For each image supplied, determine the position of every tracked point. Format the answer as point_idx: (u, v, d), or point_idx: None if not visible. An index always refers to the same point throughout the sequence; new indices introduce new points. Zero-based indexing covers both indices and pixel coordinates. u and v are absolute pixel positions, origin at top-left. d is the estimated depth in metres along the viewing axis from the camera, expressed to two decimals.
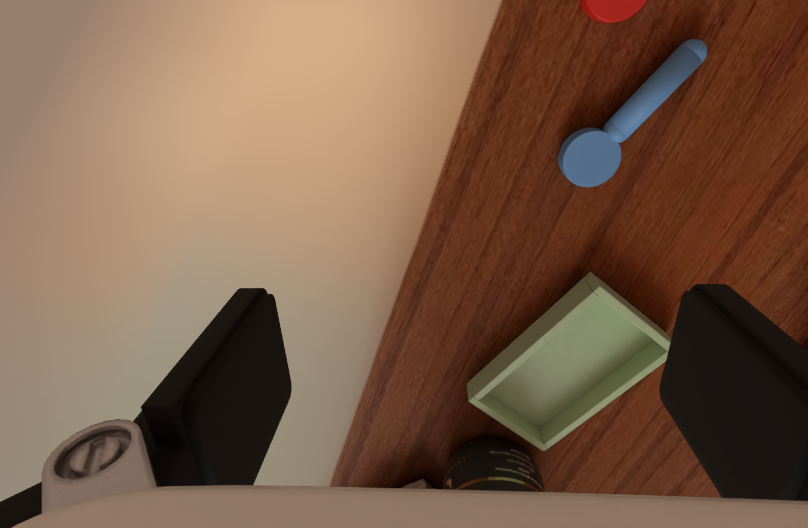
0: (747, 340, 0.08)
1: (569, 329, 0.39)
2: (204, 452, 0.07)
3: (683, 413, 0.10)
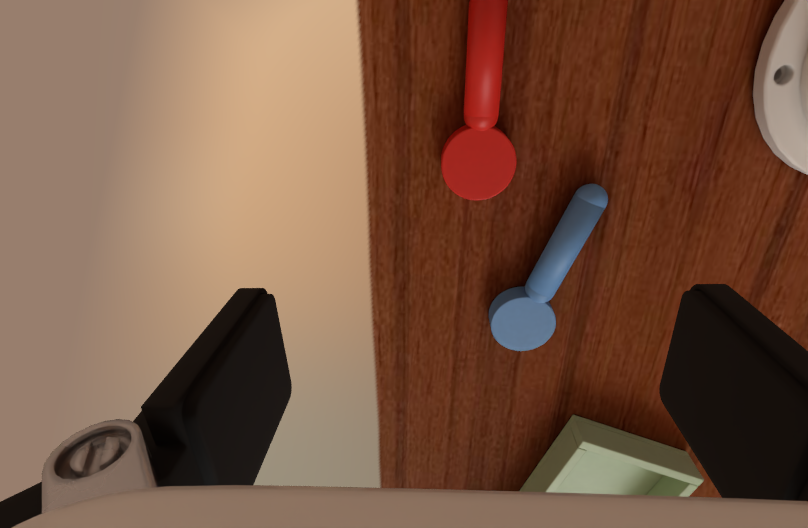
0: (747, 340, 0.08)
1: (573, 473, 0.35)
2: (204, 452, 0.07)
3: (683, 413, 0.10)
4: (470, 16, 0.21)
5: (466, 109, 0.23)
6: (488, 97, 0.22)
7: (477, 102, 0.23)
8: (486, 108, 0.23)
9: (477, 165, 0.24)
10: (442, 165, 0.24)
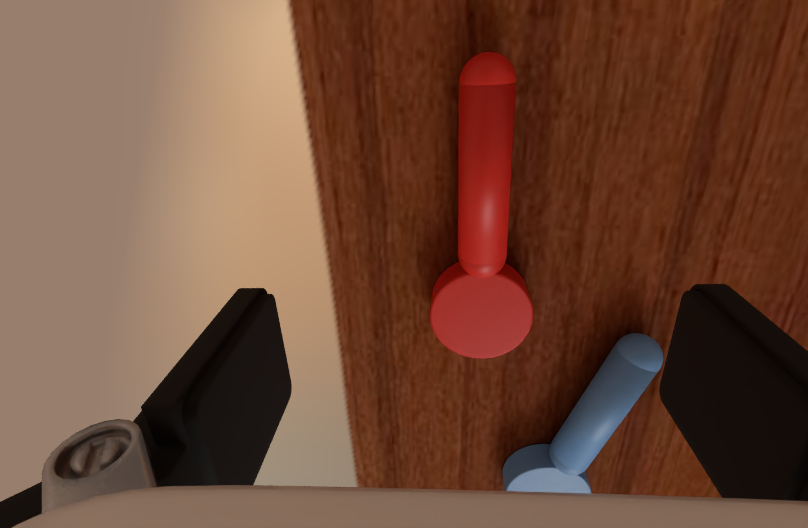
0: (747, 340, 0.08)
1: None
2: (204, 452, 0.07)
3: (683, 413, 0.10)
4: (460, 134, 0.15)
5: (460, 251, 0.17)
6: (490, 239, 0.16)
7: (475, 245, 0.16)
8: (488, 253, 0.16)
9: (479, 318, 0.18)
10: (431, 317, 0.18)
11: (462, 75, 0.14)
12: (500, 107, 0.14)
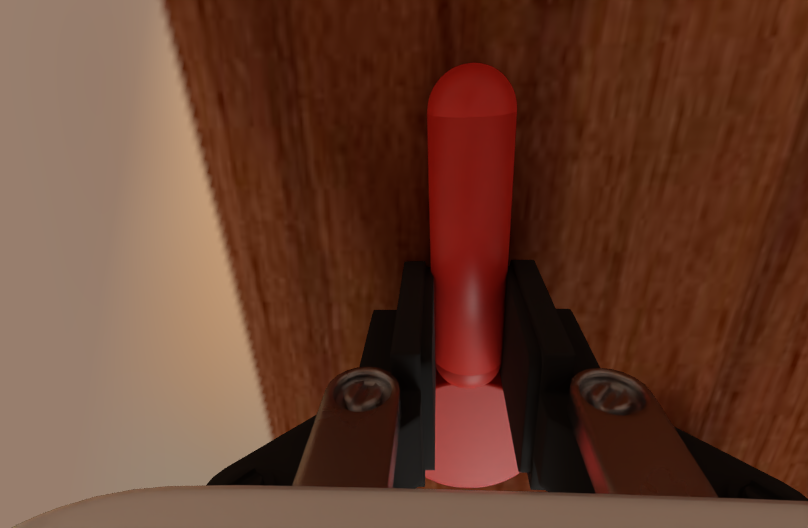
0: (520, 302, 0.09)
1: None
2: (429, 399, 0.08)
3: (503, 373, 0.11)
4: (431, 189, 0.10)
5: (436, 352, 0.11)
6: (479, 342, 0.11)
7: (457, 349, 0.11)
8: (476, 360, 0.11)
9: (464, 439, 0.12)
10: None
11: (432, 101, 0.09)
12: (493, 151, 0.09)
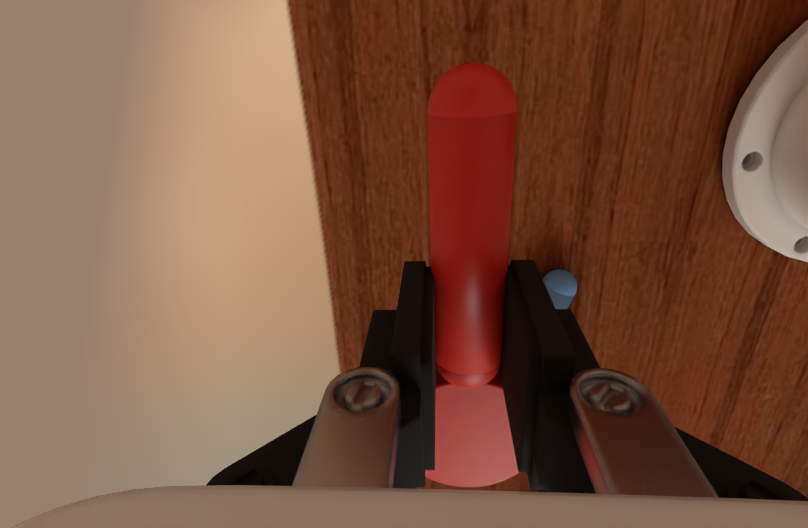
0: (520, 303, 0.09)
1: None
2: (429, 399, 0.08)
3: (503, 373, 0.11)
4: (431, 189, 0.10)
5: (436, 352, 0.11)
6: (479, 341, 0.11)
7: (457, 349, 0.11)
8: (476, 359, 0.11)
9: (464, 438, 0.12)
10: None
11: (432, 101, 0.09)
12: (493, 151, 0.09)
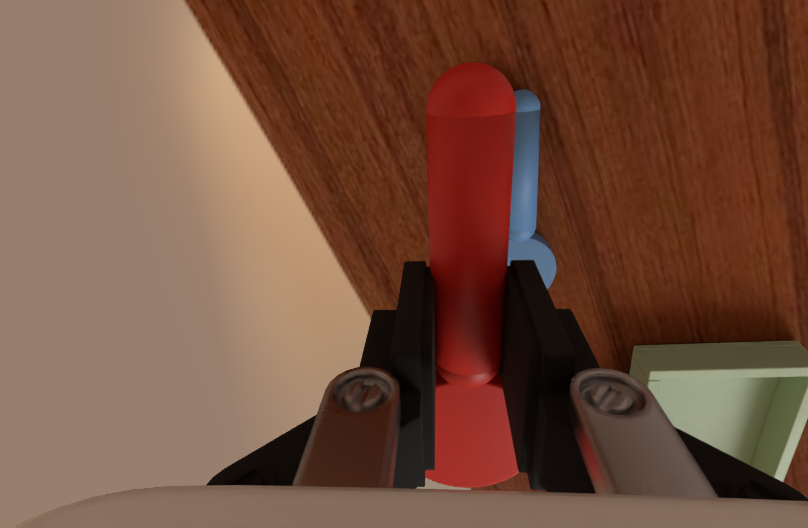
0: (520, 303, 0.09)
1: (667, 409, 0.30)
2: (429, 399, 0.08)
3: (503, 372, 0.11)
4: (430, 189, 0.10)
5: (435, 352, 0.11)
6: (478, 341, 0.11)
7: (456, 349, 0.11)
8: (475, 359, 0.11)
9: (464, 439, 0.12)
10: None
11: (431, 100, 0.09)
12: (492, 151, 0.09)
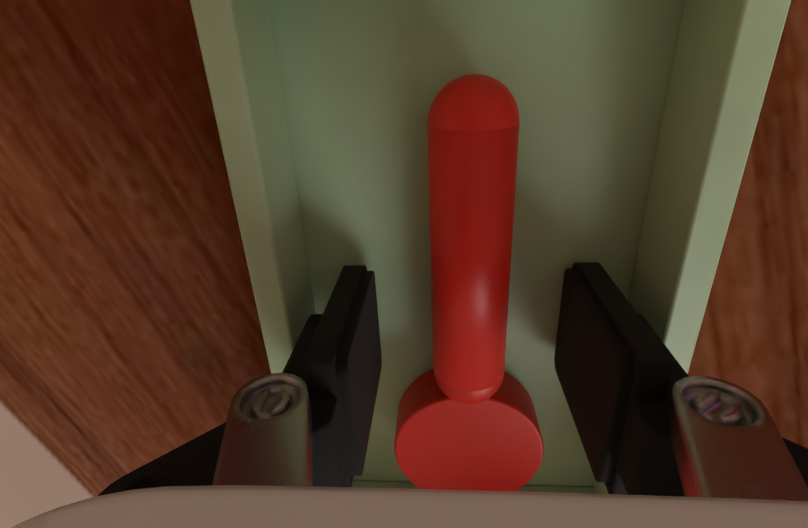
0: (596, 307, 0.09)
1: (374, 188, 0.11)
2: (348, 405, 0.08)
3: (565, 378, 0.11)
4: (431, 203, 0.09)
5: (436, 367, 0.11)
6: (480, 357, 0.10)
7: (457, 364, 0.11)
8: (477, 375, 0.11)
9: (465, 454, 0.12)
10: (396, 452, 0.12)
11: (432, 113, 0.09)
12: (494, 165, 0.09)
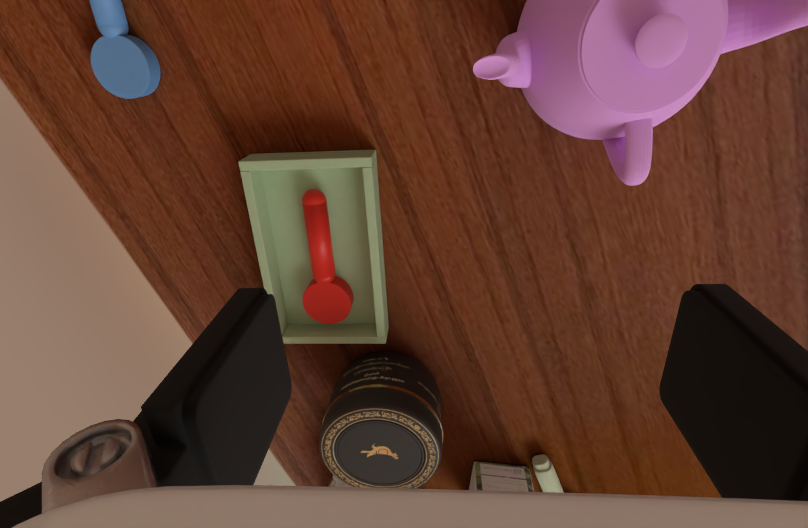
0: (747, 340, 0.08)
1: (292, 217, 0.35)
2: (204, 452, 0.07)
3: (683, 413, 0.10)
4: None
5: (312, 272, 0.36)
6: (323, 267, 0.35)
7: (316, 270, 0.35)
8: (323, 273, 0.35)
9: (325, 304, 0.37)
10: (303, 304, 0.37)
11: (302, 199, 0.33)
12: (317, 213, 0.33)
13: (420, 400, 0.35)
